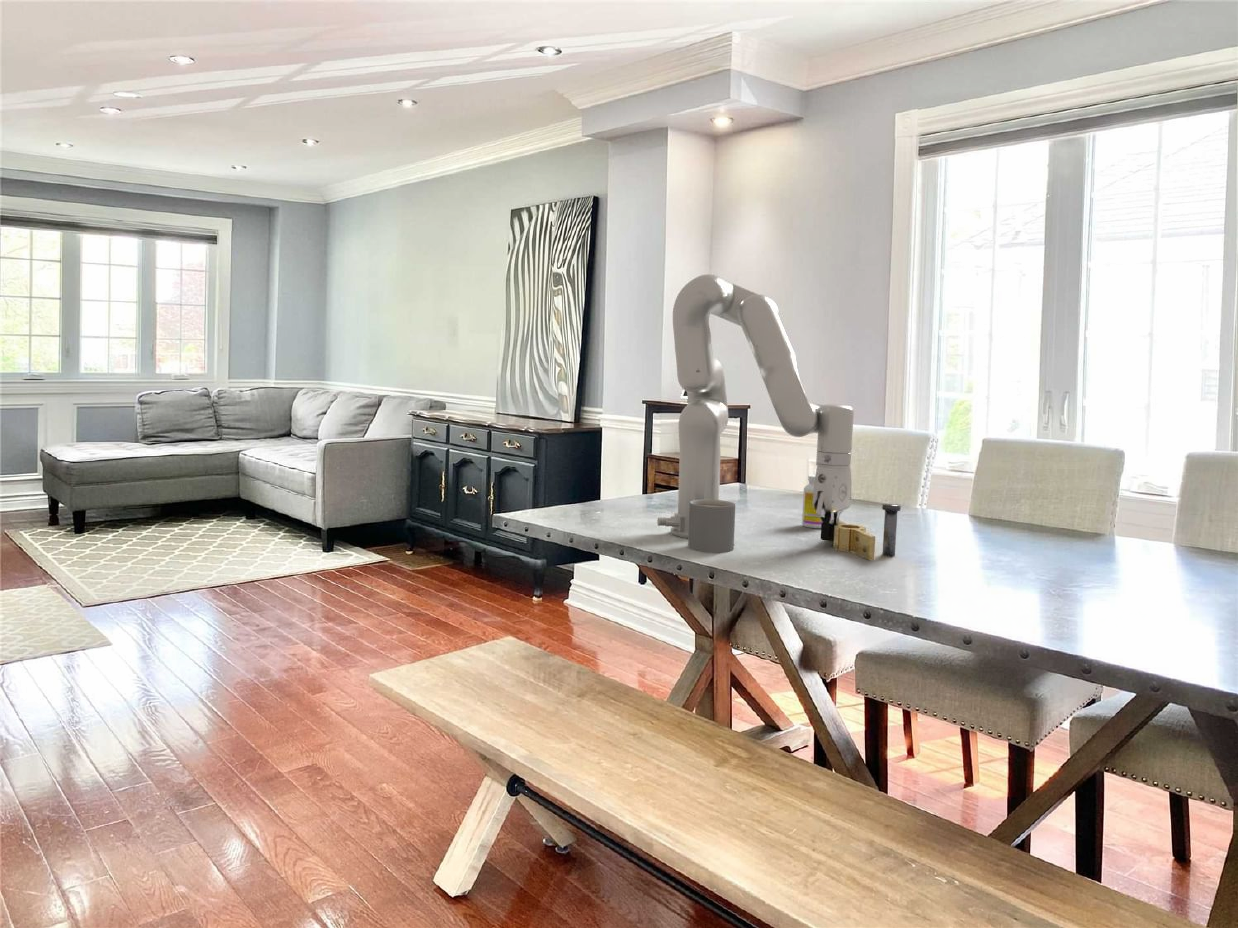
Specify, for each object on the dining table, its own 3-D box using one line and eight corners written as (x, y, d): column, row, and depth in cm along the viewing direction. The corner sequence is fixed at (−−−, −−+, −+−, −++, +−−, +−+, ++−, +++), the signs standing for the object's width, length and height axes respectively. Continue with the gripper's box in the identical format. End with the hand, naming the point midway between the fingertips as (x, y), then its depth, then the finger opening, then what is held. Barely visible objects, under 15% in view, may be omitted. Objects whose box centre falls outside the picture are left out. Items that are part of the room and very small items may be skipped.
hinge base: (857, 560, 195) (858, 536, 195) (829, 545, 210) (830, 524, 209) (885, 559, 197) (886, 536, 196) (856, 545, 211) (857, 523, 210)
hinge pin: (884, 557, 199) (887, 506, 198) (876, 553, 203) (879, 503, 201) (900, 556, 200) (904, 506, 198) (892, 553, 203) (895, 503, 202)
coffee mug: (723, 554, 197) (725, 508, 196) (680, 549, 202) (682, 503, 201) (745, 544, 209) (747, 500, 208) (704, 539, 214) (705, 496, 213)
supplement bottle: (831, 529, 231) (834, 477, 229) (804, 528, 231) (807, 477, 229) (825, 524, 237) (828, 474, 236) (799, 523, 237) (802, 473, 236)
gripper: (832, 463, 200) (827, 547, 203) (864, 459, 212) (859, 538, 214) (801, 460, 205) (796, 541, 208) (834, 456, 217) (829, 533, 219)
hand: (828, 540), depth 211 cm, fingers closed
